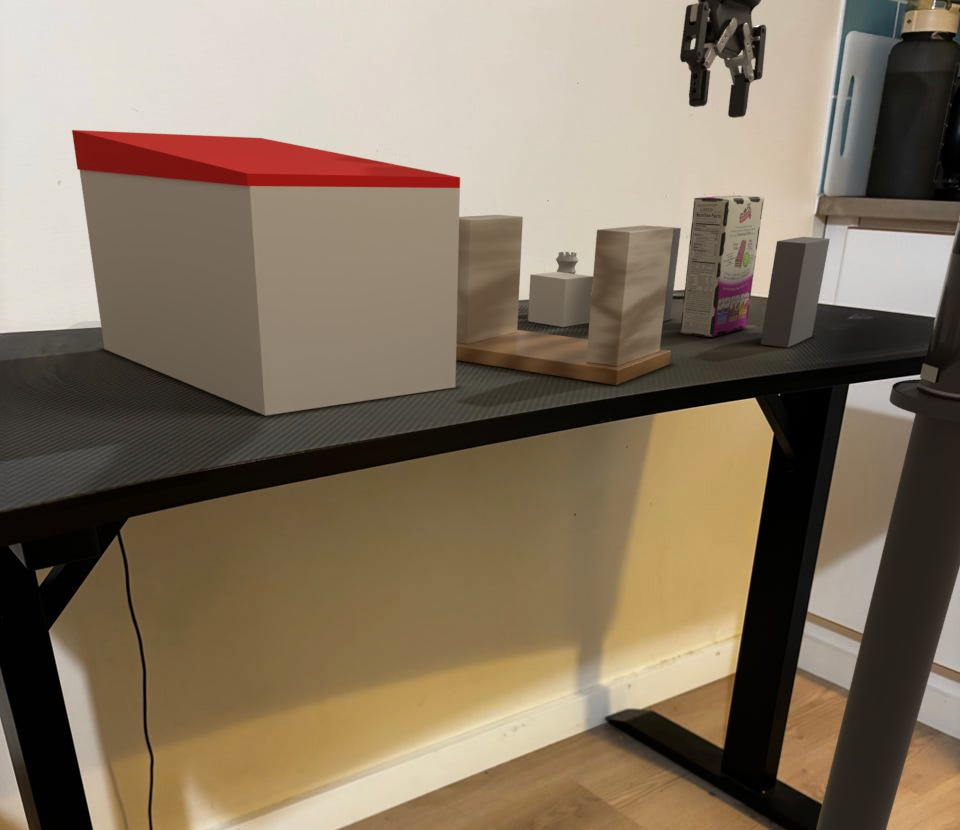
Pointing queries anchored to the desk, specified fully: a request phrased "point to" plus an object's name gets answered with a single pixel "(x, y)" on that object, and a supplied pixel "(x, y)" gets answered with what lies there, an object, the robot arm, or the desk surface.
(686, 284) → the candy bar box
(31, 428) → the desk surface
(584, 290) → the cream cube
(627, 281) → the shelf
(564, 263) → the rook chess piece
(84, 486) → the desk surface
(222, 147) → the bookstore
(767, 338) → the grey books
